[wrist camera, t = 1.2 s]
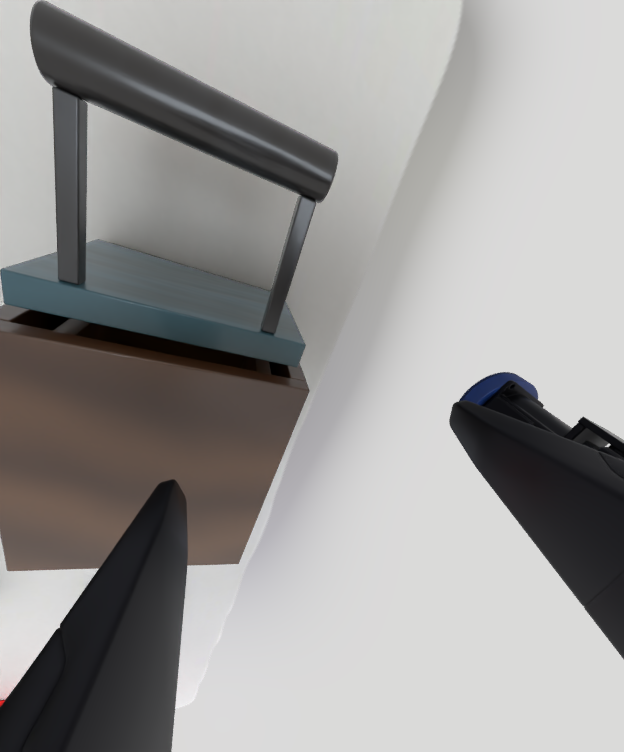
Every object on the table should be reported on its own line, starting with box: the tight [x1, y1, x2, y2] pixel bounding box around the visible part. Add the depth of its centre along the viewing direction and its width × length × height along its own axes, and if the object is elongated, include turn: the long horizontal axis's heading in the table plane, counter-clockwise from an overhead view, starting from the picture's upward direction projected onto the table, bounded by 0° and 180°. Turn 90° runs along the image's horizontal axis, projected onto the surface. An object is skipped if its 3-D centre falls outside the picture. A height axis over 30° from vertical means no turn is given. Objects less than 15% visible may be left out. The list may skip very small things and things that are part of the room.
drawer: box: [0, 0, 338, 374], centre depth 15 cm, size 19×10×8 cm, turn 160°
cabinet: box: [0, 304, 309, 571], centre depth 18 cm, size 14×12×10 cm
